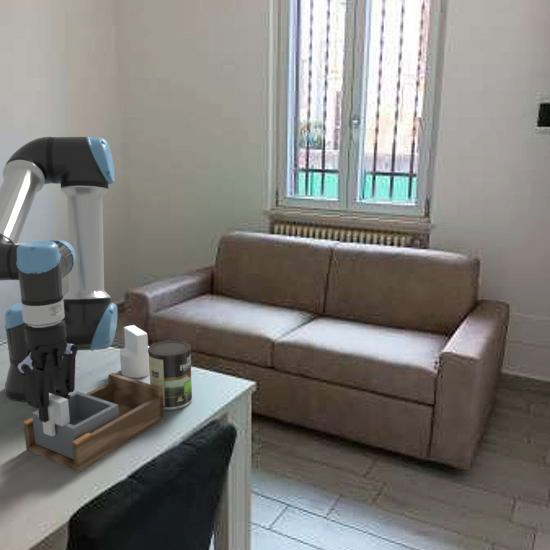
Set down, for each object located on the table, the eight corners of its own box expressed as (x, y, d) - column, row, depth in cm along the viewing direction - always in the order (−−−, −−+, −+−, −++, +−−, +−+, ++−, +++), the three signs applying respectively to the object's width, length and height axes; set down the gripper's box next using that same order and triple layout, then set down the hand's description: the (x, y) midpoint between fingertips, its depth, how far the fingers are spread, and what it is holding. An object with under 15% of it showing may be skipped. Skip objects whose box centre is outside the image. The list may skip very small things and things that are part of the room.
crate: (32, 444, 123) (27, 391, 120) (80, 419, 134) (75, 370, 131) (74, 461, 117) (69, 406, 114) (120, 434, 127) (117, 383, 124)
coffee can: (198, 393, 150) (196, 341, 147) (184, 412, 140) (182, 357, 137) (160, 389, 152) (157, 338, 149) (143, 408, 142) (140, 353, 139)
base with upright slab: (115, 369, 165) (113, 329, 162) (145, 362, 170) (143, 322, 167) (129, 380, 158) (126, 338, 155) (159, 372, 163) (157, 331, 160)
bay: (26, 449, 124) (22, 414, 122) (114, 403, 145) (112, 373, 143) (78, 472, 116) (75, 435, 114) (164, 419, 137) (162, 388, 135)
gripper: (23, 336, 106) (35, 453, 112) (88, 314, 118) (96, 420, 124) (-3, 329, 109) (10, 442, 115) (63, 308, 122) (72, 411, 128)
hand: (55, 430), depth 120 cm, fingers closed on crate, 2 cm apart
